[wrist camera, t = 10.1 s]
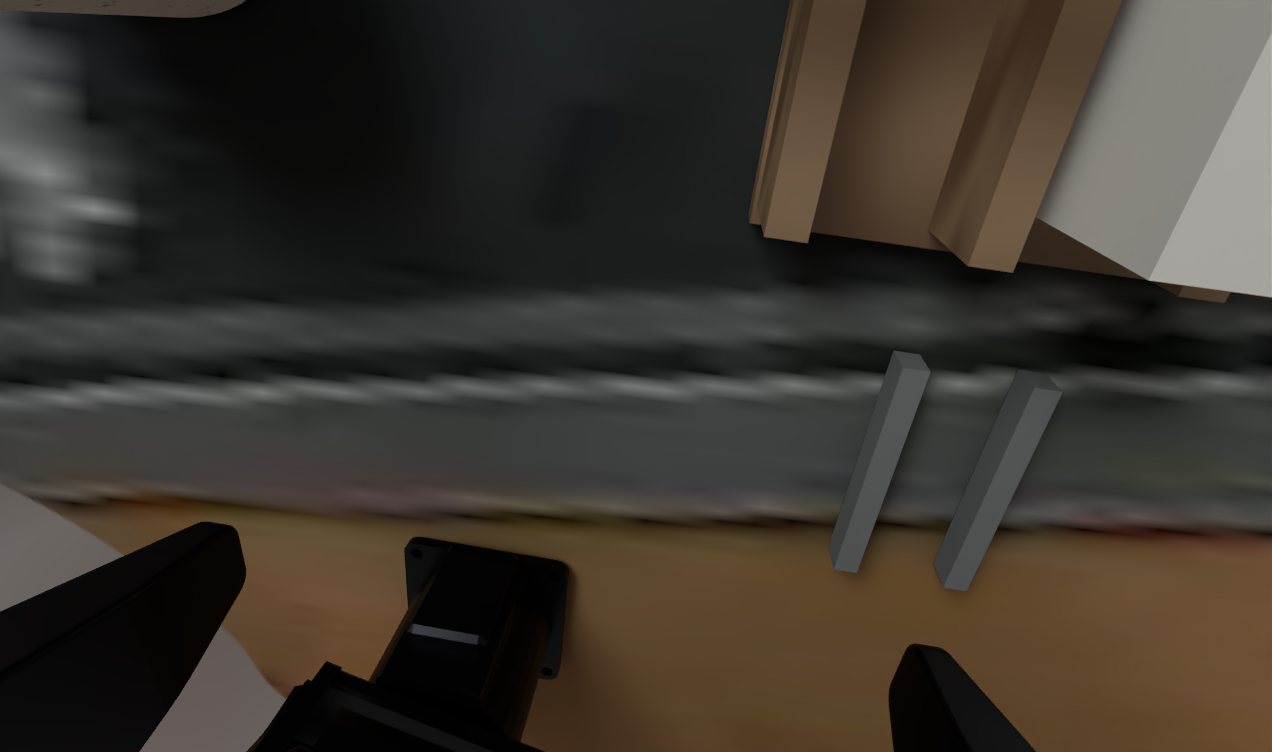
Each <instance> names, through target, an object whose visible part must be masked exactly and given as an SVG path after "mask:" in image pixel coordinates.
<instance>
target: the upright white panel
mask: <svg viewBox="0 0 1272 752" xmlns="http://www.w3.org/2000/svg"><path fill="white" fill-rule="evenodd" d="M1036 218H1038V219H1040V220H1042V221H1044V222H1045V223H1047V224H1049V225H1051V226H1052V227H1054V228H1056V229H1058V230H1060V231H1061V232H1063V233H1065V234H1067V235H1069V236H1070V237H1072V238H1074V239H1076V240H1077V241H1079V242H1081V243H1083V244H1085V245H1086V246H1088V247H1090V248H1092V249H1093V250H1095V251H1097V252H1099V253H1101V254H1102V255H1104V256H1106V257H1108V258H1109V259H1111V260H1113V261H1115V262H1117V263H1118V264H1120V265H1122V266H1124V267H1126V268H1127V269H1129V270H1131V271H1133V272H1134V273H1136V274H1138V275H1140V276H1142V277H1143V278H1145V279H1147V280H1149V281H1157V282H1164V283H1171V284H1179V285H1186V286H1193V287H1201V288H1208V289H1215V290H1223V291H1230V292H1238V293H1245V294H1252V295H1260V296H1267V297H1272V0H1122V3H1121V5H1120V8H1119V10H1118V12H1117V15H1116V17H1115V20H1114V22H1113V25H1112V27H1111V30H1110V32H1109V35H1108V37H1107V40H1106V42H1105V45H1104V47H1103V50H1102V52H1101V55H1100V57H1099V60H1098V62H1097V65H1096V67H1095V70H1094V72H1093V75H1092V77H1091V80H1090V82H1089V85H1088V87H1087V90H1086V92H1085V95H1084V97H1083V100H1082V102H1081V105H1080V107H1079V110H1078V112H1077V115H1076V117H1075V119H1074V122H1073V124H1072V127H1071V129H1070V132H1069V134H1068V137H1067V139H1066V142H1065V144H1064V147H1063V149H1062V152H1061V154H1060V157H1059V159H1058V162H1057V164H1056V167H1055V169H1054V172H1053V174H1052V177H1051V179H1050V182H1049V184H1048V187H1047V189H1046V192H1045V194H1044V197H1043V199H1042V202H1041V204H1040V207H1039V209H1038V212H1037V214H1036Z"/></svg>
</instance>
